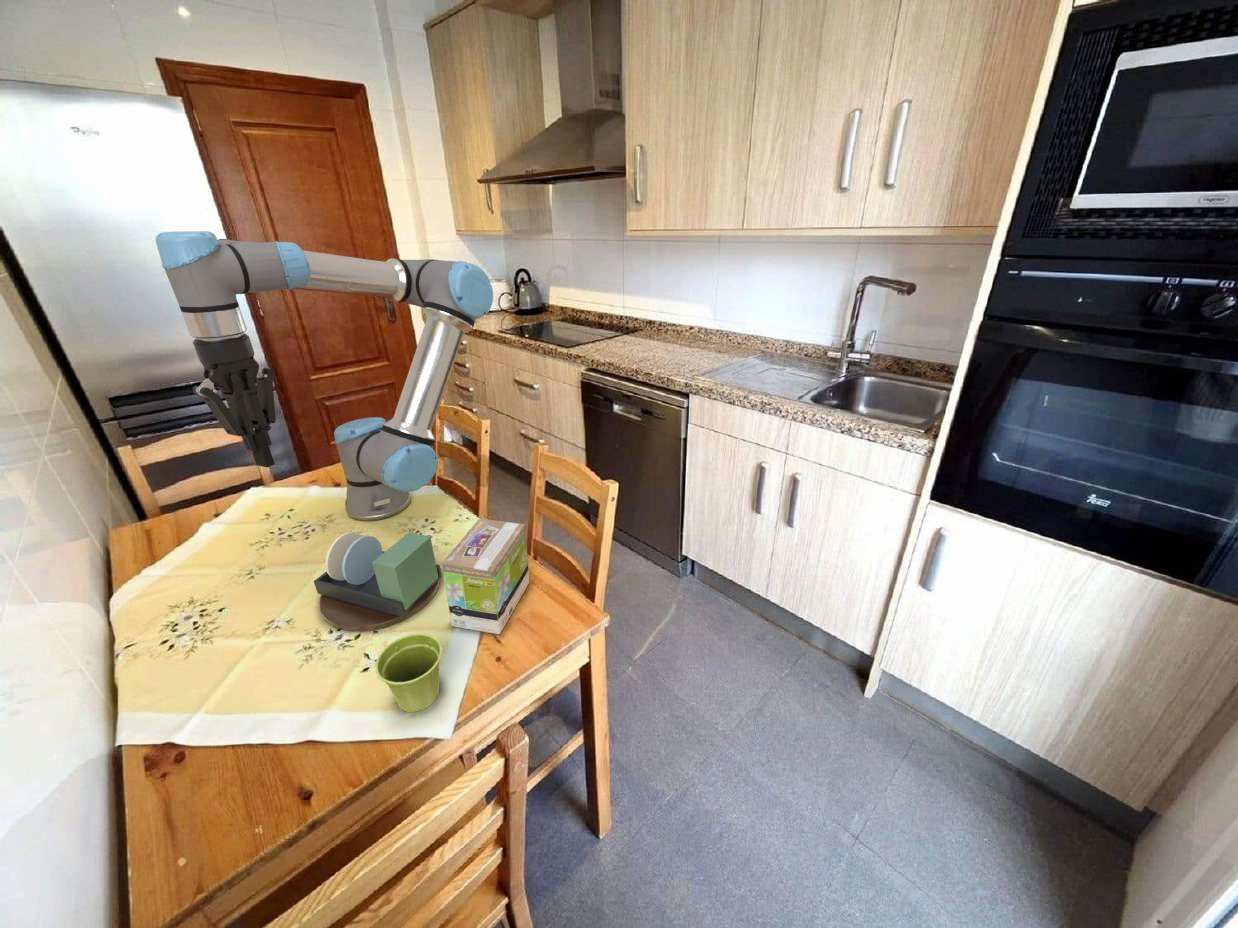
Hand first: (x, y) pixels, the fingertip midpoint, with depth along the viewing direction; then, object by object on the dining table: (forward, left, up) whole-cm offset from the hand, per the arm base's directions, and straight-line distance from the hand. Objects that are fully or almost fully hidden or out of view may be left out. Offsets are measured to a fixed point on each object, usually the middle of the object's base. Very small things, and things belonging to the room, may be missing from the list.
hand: (265, 464), depth 92 cm
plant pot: (+16, +41, -27) cm, 51 cm away
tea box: (-6, +41, -27) cm, 49 cm away
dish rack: (-2, +18, -25) cm, 31 cm away
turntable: (-2, +18, -26) cm, 32 cm away
